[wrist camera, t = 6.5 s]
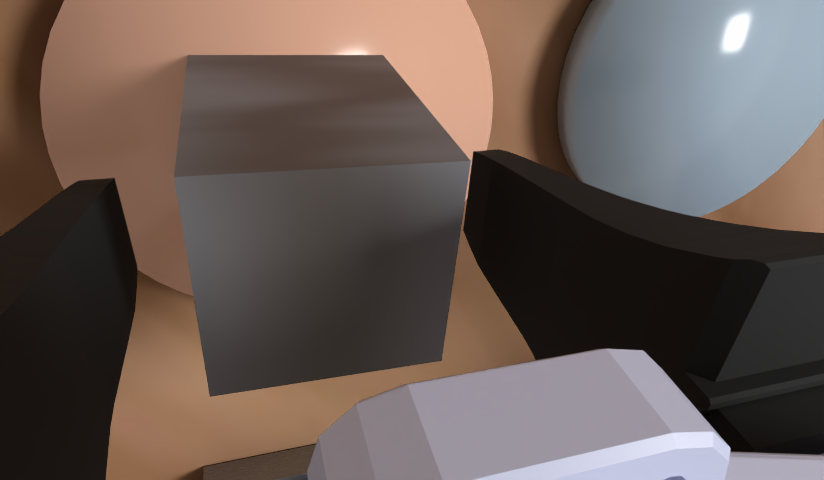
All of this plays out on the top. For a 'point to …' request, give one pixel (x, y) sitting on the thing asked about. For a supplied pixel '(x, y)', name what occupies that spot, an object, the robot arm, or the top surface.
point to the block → (315, 217)
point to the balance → (264, 466)
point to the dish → (227, 35)
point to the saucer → (690, 97)
